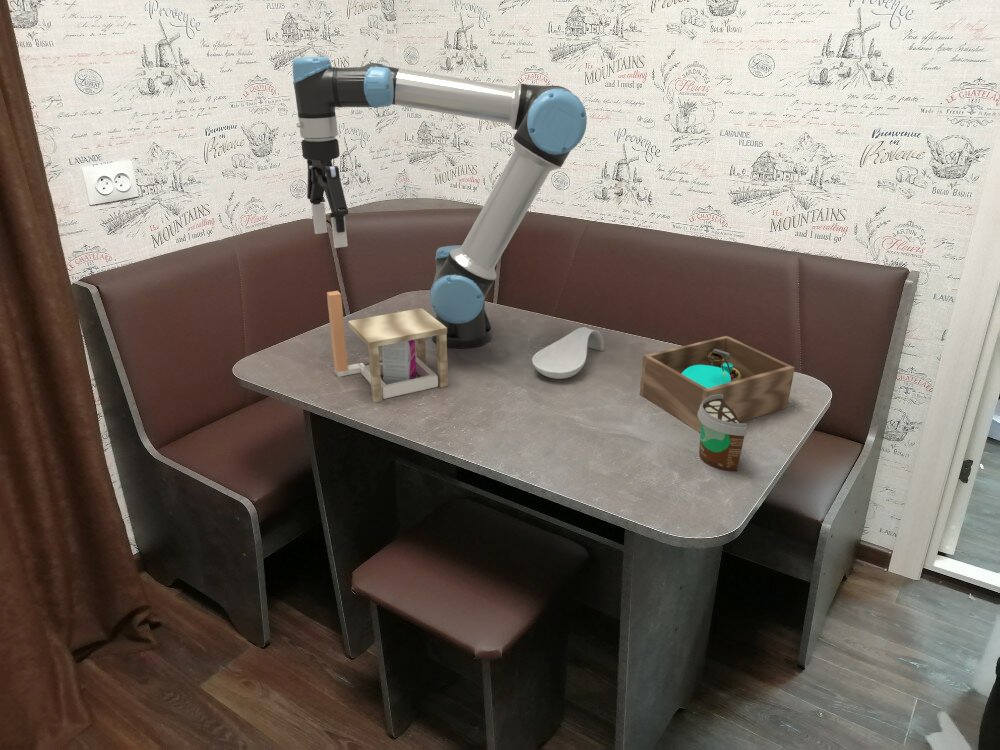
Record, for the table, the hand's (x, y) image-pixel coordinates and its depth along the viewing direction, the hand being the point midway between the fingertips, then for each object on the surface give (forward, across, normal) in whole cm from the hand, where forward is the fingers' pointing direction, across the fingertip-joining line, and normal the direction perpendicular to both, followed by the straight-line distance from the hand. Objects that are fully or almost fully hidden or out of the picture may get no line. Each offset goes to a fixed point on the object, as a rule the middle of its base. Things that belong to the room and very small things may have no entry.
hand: (330, 239), depth 162 cm
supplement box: (+29, +18, +7) cm, 35 cm away
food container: (+30, +75, +43) cm, 92 cm away
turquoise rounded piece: (+30, +60, +59) cm, 89 cm away
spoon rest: (+30, +29, +44) cm, 61 cm away
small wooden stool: (+29, +18, +7) cm, 35 cm away
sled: (+28, +16, +4) cm, 33 cm away
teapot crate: (+29, +59, +60) cm, 89 cm away
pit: (+28, +8, +5) cm, 30 cm away
